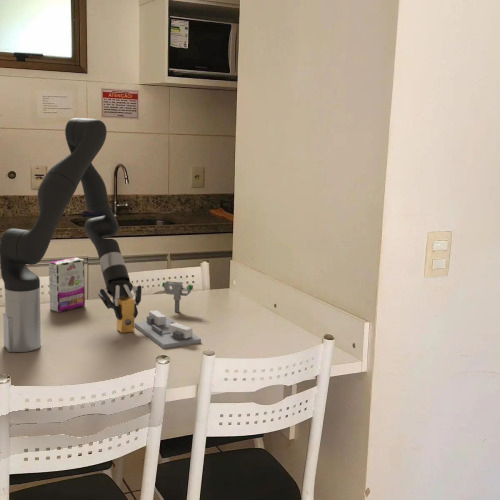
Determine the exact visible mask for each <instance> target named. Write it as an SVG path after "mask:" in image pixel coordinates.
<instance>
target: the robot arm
mask: <svg viewBox="0 0 500 500" xmlns="http://www.w3.org/2000/svg"><path fill="white" fill-rule="evenodd" d="M107 130H108V129H107V126H106V124H105V123H104V121H102V120H101V119H97V118H96V119H95V118H86V117H85V118H84V117H83V118H82V117H75V118H74V117H73V118H71V119H69V120H68V121H67V122H66V125H65V129H64V131H65V132H64V134H65V135H64V136H65V140H66V144H67V146H68V149H69V152H70V154H68V155H66V157H64V158H63V159H61V160H60V161H58V162H57V163H56V164H54V165H53V166H52V167H51V168H50V169H49V170H48V171H47V172H46V173H45V176H44V178H43V179H42V181H41V183H40V185H39V187H38V189H37V200H38V209H39V213H38V217H37V220H36V221H35V223H34V225H33V227H32V228H31V229H30V230H29V229H20V228H8V229H7V230H5V232H4V233H2V235H1V237H0V274H1V278H2V281H3V283H4V312H3V315H2V316H3V317H2V318H3V346H4V347H5V349H6V351H7V352H8V353H12V352H13V353H15V352H16V353H27V352H32V351H36V350H38V349H40V347H41V345H42V342H41V339H42V338H41V337H42V336H41V334H42V333H41V280H40V277H39V275H38V274H36V273H35V272H33V271H32V270H30V268H29V267H28V266H27V265H31V266H33V265H36V264H38V263H40V261H42V259H43V258H44V257H45V254H46V252H47V250H48V249H49V246H50V243H51V241H52V238H53V235H54V234H55V231H56V228H57V226H58V225H59V222H60V219H61V218H62V216H63V214H64V212H65V210H66V208H67V206H68V205H69V203H70V201H71V199H72V198H73V196H74V194H75V192H76V190H77V189H78V186H79V184H80V183H81V185H82V191H83V195H84V200H85V206H86V210H87V211H88V212H89V213H93V214H103V215H101V216H96V217H93V218H92V217H91V218H88V219H86V221H85V224H84V231H85V233H86V235H87V237H88V238H89V240H90V241H91V243H92V244H93V245H94V248H95V250H96V252H97V255H98V260H99V262H100V263H99V265H100V269H101V270H100V272H101V273H102V277H103V279H104V281H103V282H104V284H105V288H104V289H103V288H101V289H100V290H99V292H98V296H99V298H100V300H101V301H102V302H103V304H104V306H105V307H106V308H107V309H113V310H114V311H113V312H114V314H115V317H116V319H117V318H118V320H121V319H122V318H123V316H122V313H121V309H120V306H119V302H118V298H120V297H131V298H133V299H134V300H135V304H134V319H136V318H137V316H138V315H139V311H138V307H137V306H139V305H140V303H141V301H142V288H143V287H142V286H141V285H140V284H139V285H138V286H135V285H133V283H132V282H131V280H130V276H129V273H128V270H127V266H126V263H125V260H124V257H123V256H122V255H123V254H122V253H121V248H120V246H119V243H118V241H117V239H114V238H109V237H114V236H116V235H117V234H118V232H119V229H120V226H119V222H118V220H117V219H116V217H115V215H114V213H113V211H112V209H111V206H110V202H109V196H108V191H107V187H106V184H105V181H104V180H103V177H102V176H101V174H100V173H99V171H98V170H97V169H96V168H95V166H94V165H93V163H92V162H93V161H94V159H95V158H96V156H97V155H98V154H99V152H100V151H101V150H102V147H104V144H105V141H106V139H107V132H108V131H107ZM132 291H133V293H134V294H135V297H134V295H133V293H132ZM109 296H111V297H112V299H111V298H110V297H109Z"/></svg>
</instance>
